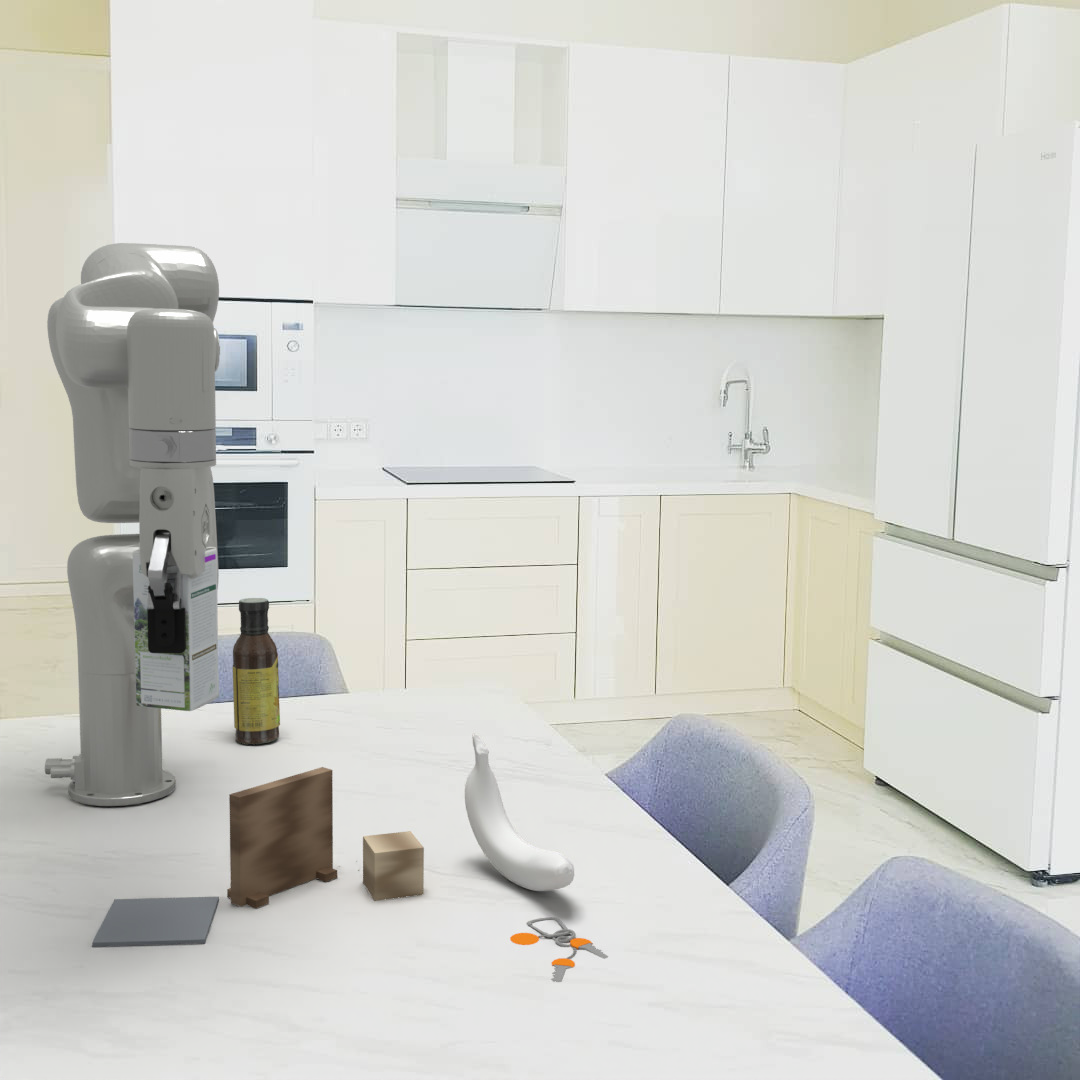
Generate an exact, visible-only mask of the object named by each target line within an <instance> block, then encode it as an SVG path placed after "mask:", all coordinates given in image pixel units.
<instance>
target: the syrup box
mask: <svg viewBox="0 0 1080 1080" xmlns="http://www.w3.org/2000/svg"><path fill="white" fill-rule="evenodd" d="M205 549H206V553H205V571H204V572H202V573H201V574H200V575H199V576H198V577H196V578H195V579H190V578H189V575H188V574H182V584H183V594H182V606H181V608H185V622H186V650H185V651H184V652H183V653H151V652H149V650H148V615H147V609H148V591H149V590H148V586H149V579H148V577H146V576H145V575H144V574H143V573H142V571H141V562H140V550H137V551H135V552H133V591H134V632H135V669H136V705H137V706H143V707H153V708H161V710H162V709H163V710H173V711H185V712H192V711H195V710H197V709H200V708H201V707H202V708H203V706H206V705H207V704H209V703H211V702H213V701H215V700H217V699H218V698H220V697H219V696H220V676H219V675H220V674H219V673H220V672H219V648H218V647H219V644H218V643H219V642H218V641H219V639H218V638H219V636H218V635H219V634H218V631H219V628H218V627H219V626H218V621H219V620H218V590H217V551H218V548H217V549H216V547H207V548H205ZM170 551H171V550H170ZM147 564H148V567H147V569H149V565H150V562H149V563H147ZM177 571H178V566H177V565H175V566H171V567H167V571H166V573H177ZM174 585H175V583H171V586H173V593H174Z"/></svg>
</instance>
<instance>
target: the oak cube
mask: <svg viewBox="0 0 1080 1080" xmlns="http://www.w3.org/2000/svg"><path fill="white" fill-rule="evenodd" d="M424 849H425V848H424V846H423V844H422V843H421V842H420V841H419V840H418V838H417V837H416V836H415V835H414V833H413V832H412V831H411V830H409V831H408V830H407V831H399V832H390V833H389V832H388V833H381V834H371V835H363V836H362V883H363V885H364V886H365V888H366V890H367V891H368V893H369V894H370V895H371V898H372V899H373V901H374V902H375V901H384V900H385V899H386V900H391V899H392V900H394V899H400V898H401V897H402V898H407V897H406V896H410V897H415V896H414V895H417V896H423V895H422V894H424V891H425V889H424V883H425V882H424V881H425V880H424V877H425V876H424V875H425V873H424V871H425V870H424V869H425V868H424V867H425V865H424V864H425V862H424V861H425V860H424V859H425V853H424V851H425V850H424ZM398 897H400V898H398ZM393 898H394V899H393Z"/></svg>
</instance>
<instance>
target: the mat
mask: <svg viewBox="0 0 1080 1080" xmlns="http://www.w3.org/2000/svg"><path fill="white" fill-rule="evenodd" d="M219 902H220V896H192V897H191V896H187V897H186V896H184V897H180V896H179V897H148V898H147V897H145V898H144V897H143V898H140V897H139V898H114V899H113V902H112V903H111V905H110V907H109V908H108V911H107V913H106V915H105V917H104V918H103V921H102V922H101V925H100V926H99V929H98V930H97V931H96V934H95V936H94V938H93V940H92V942H91V947H92V948H99V947H101V948H102V947H133V946H161V945H162V946H164V945H165V946H167V945H168V946H169V945H171V946H172V945H198V944H199V945H200V944H201V945H202V944H203V945H204V943H205V944H206V942H207V939H208V935H209V933H210V929H211V927H212V923H213V920H214V917H215V915H216V912H217V908H218V905H219Z"/></svg>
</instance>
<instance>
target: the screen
mask: <svg viewBox="0 0 1080 1080" xmlns="http://www.w3.org/2000/svg"><path fill="white" fill-rule="evenodd" d="M228 795H229V798H228V799H229V804H228V805H229V860H230V861H229V862H230V864H229V865H230V868H229V870H230V871H229V872H230V888H227V889H226V893H227V896H226V897H227V898H229V899H230V903H231V904H233V905H235V906H238V907H241V908H242V907H244V906H248V907H252V908H254V909H259V908H261V907H264V906H267V905H270V897H271V896H273V895H277V894H279V893H281V892H284V891H287V890H289V889H292V888H294V887H298V886H300V885H302V884H305V883H308V882H310V881H313V880H316V879H317V880H320V881H322V882H325V883H327V882H330V881H333V880H335V879H337V878H338V869H335V868H334V866H333V865H334V862H333V861H334V849H333V848H334V843H333V842H334V841H333V839H334V838H333V837H334V836H333V835H334V834H333V831H334V828H333V827H334V826H333V825H334V824H333V817H334V816H333V814H334V813H333V812H334V811H333V809H334V807H333V769H330V768H327V767H324V766H322V767H317V768H314V769H312V770H307V771H304V772H300V773H297V774H294V775H291V776H288V777H287V776H286V777H283V778H280V779H278V780H277V779H276V780H274V781H270V782H267V783H263V784H260V785H256V786H253V787H250V788H246V789H242V790H240V791H239V790H238V791H237V792H233V793H230V794H228Z"/></svg>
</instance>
